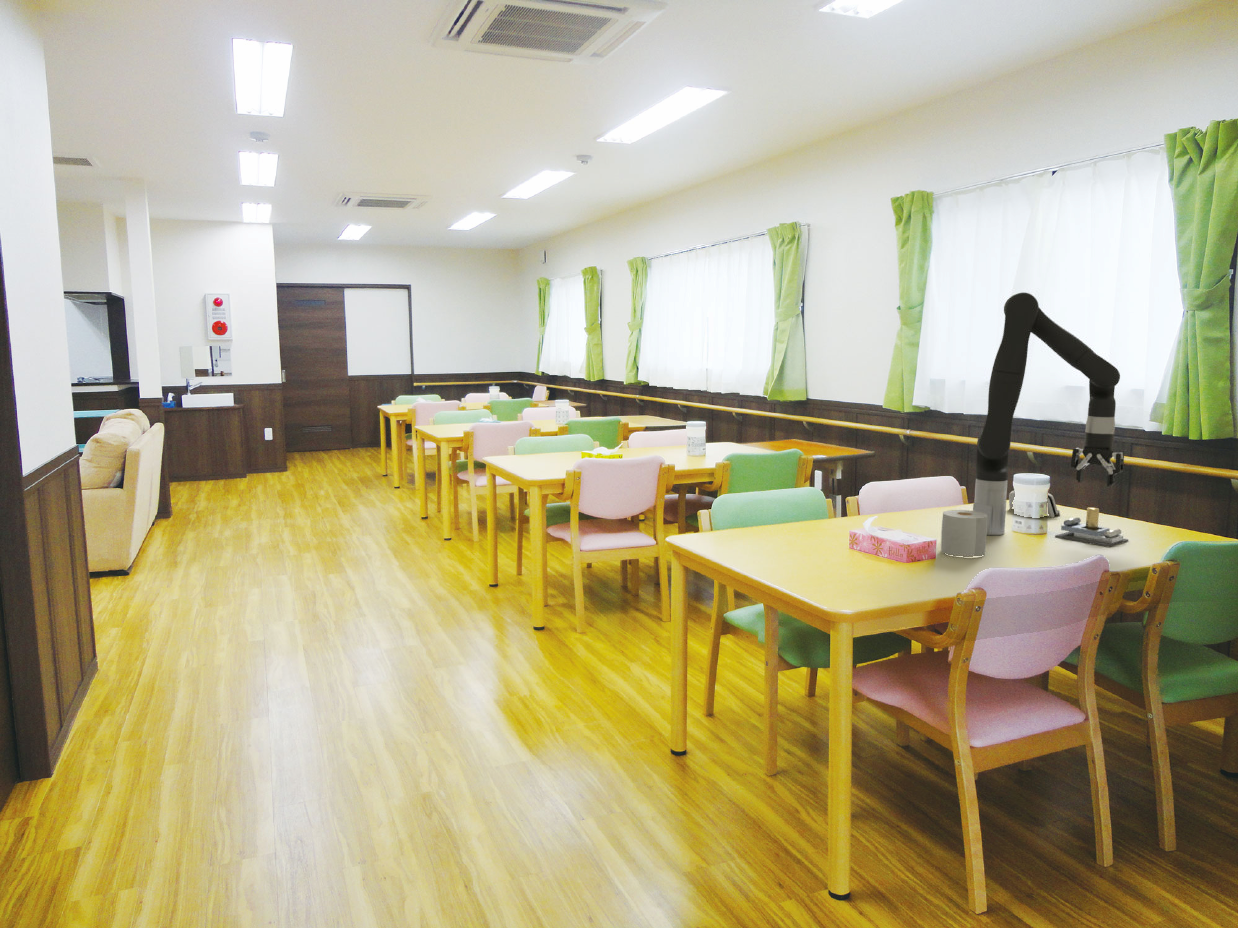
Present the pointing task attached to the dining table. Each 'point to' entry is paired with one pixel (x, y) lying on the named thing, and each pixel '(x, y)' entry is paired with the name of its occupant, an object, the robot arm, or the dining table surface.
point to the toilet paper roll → (963, 533)
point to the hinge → (1051, 504)
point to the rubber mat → (1070, 536)
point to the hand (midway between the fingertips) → (1095, 484)
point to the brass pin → (1092, 518)
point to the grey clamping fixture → (1092, 532)
